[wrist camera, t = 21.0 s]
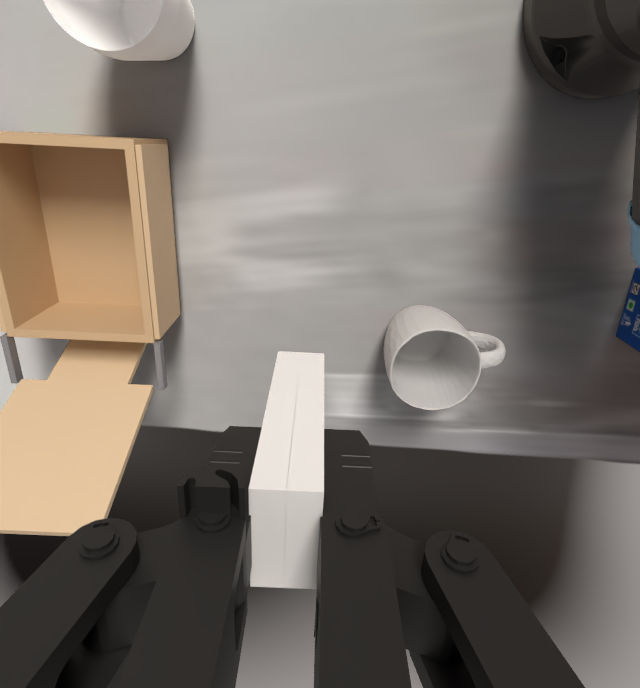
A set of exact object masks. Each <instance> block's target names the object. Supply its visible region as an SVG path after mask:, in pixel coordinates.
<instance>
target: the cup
mask: <svg viewBox="0 0 640 688" xmlns="http://www.w3.org/2000/svg"><path fill="white" fill-rule="evenodd" d="M43 1H44V3H45V5H46V7H47V9H48V10H49V12H50V13H51V15H52V16H53V18H54V19H55V20H56V22H57V23H58V24H59V25H60V26H61V27H62V28H63V29H64V30H65V31H66V32H67V33H68V34H69V35H71V36H72V37H73V38H75V39H76V40H78V41H79V42H81V43H83V44H85V45H87V46H89V47H91V48H92V49H94V50H95V51H97V52H99V53H100V54H103V55H105V56H107V57H110V58H114V59H118V60H124V61H164V60H170V59H173V58H176V57H177V56H179V55H180V54H182V53H183V52H184V51H185V50H186V48H187V47H188V46H189V44H190V42H191V40H192V37H193V33H194V27H195V17H194V11H193V7H192V4H191V1H190V0H43Z"/></svg>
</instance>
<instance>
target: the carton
mask: <svg viewBox="0 0 640 688" xmlns="http://www.w3.org/2000/svg"><path fill="white" fill-rule="evenodd" d="M180 312H181V311H180V298H179V285H178V272H177V259H176V245H175V232H174V219H173V206H172V193H171V180H170V166H169V153H168V140H167V139H151V138H132V137H113V136H94V135H74V134H55V133H36V132H9V131H0V327H1V331H2V332H7V333H6V334H4V335H2V336H1V337H0V339H1V343H2V347H3V351H4V355H5V359H6V363H7V367H8V371H9V375H10V379H11V383H19V382H20V381H21V379H23V375H22V371H21V366H20V362H19V358H18V353H17V349H16V345H15V341H14V337H32V338H53V339H74V340H96V341H117V342H138V343H154V354H155V364H156V373H157V383H158V390H165V388H166V387H167V377H166V366H165V356H164V345H163V340H157V339H161V337H162V336H163V335H164V334H165V332H166V331H167V330H168V329H169V328H170V326H171V325H172V324H173V323H174V322H175V320H176V319H177V318H178V317H179V315H180Z"/></svg>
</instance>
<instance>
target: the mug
mask: <svg viewBox="0 0 640 688" xmlns="http://www.w3.org/2000/svg"><path fill="white" fill-rule="evenodd" d="M478 348H481V349H486V350H488V351H487V352H480V351H479V349H478ZM505 353H506V351H505V346H504V344H503V343H502V341H501V340H499V339H498V338H496V337H494V336H491V335H488V334H484V333H478V332H473V331H467V330H466V329H465V328H464V327H463V326H462V325H461V324H460V323H459V322H458V321H457V320H455V319H454V318H453V317H451V316H450V315H449V314H447V313H446V312H444V311H441V310H439V309H437V308H434V307H430V306H425V305H415V306H410V307H407V308H405V309H403V310H401V311H400V312H399V313H397V314H396V315H395V317H394V318H393V319H392V321H391V322H390V324H389V326H388V329H387V332H386V335H385V341H384V361H385V367H386V372H387V376H388V379H389V381H390V384H391V387H392V389H393V391H394V392H395V393H396V395H397V396H398V397H399V398H400V399H401V400H402V401H403V402H405V403H407V404H409V405H411V406H413V407H416V408H420V409H425V410H442V409H446V408H450V407H452V406H454V405H456V404H458V403H460V402H461V401H463V400H464V399H465V398H467V396H468V395H469V394H470V393H471V392H472V391H473V389H474V388H475V386H476V384H477V382H478V379H479V376H480V373H481V369H483V368H489V367H493V366H496V365H498V364H500V363H501V362H502V361H503V360H504V357H505Z"/></svg>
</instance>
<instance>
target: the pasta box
mask: <svg viewBox="0 0 640 688" xmlns="http://www.w3.org/2000/svg"><path fill="white" fill-rule="evenodd" d="M616 336H617V337H618V338H620V339H621V340H623V341H624V342H626V343H627V344H629V345H630V346H631V347H633V348H634V349H636V350H637V351H639V352H640V268H635V272H634V275H633V279H632V282H631V286H630V289H629V292H628V296H627V299H626V303H625V306H624V310H623V313H622V317H621V320H620V323H619V327H618V330H617V334H616Z"/></svg>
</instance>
